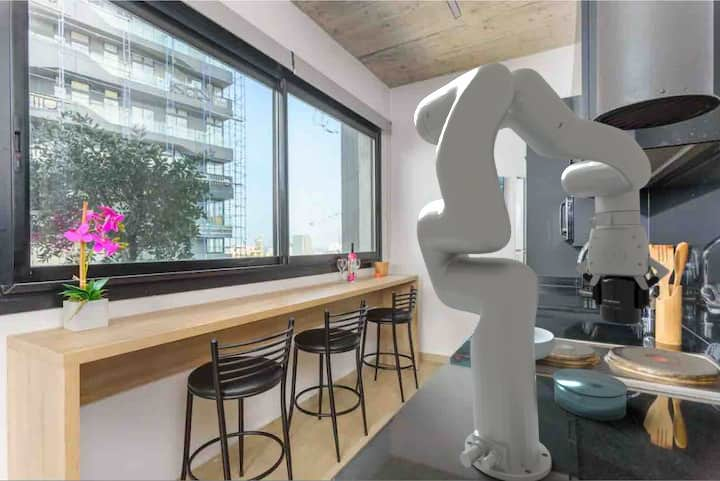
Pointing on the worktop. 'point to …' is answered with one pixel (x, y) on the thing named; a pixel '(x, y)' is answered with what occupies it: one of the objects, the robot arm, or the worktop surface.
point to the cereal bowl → (543, 343)
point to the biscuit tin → (590, 394)
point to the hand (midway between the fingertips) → (620, 305)
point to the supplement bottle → (619, 299)
